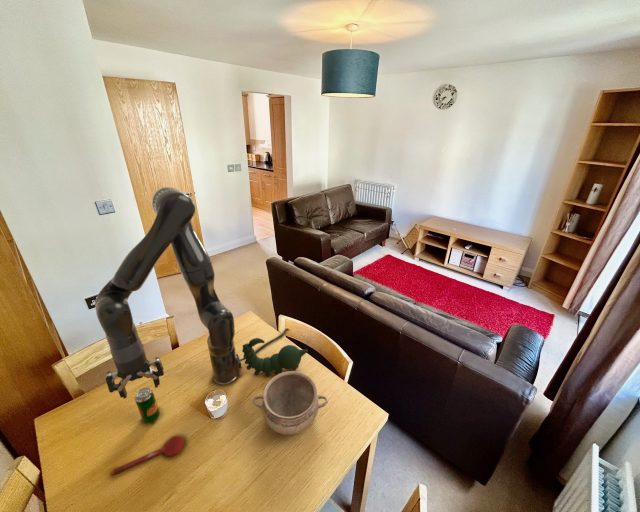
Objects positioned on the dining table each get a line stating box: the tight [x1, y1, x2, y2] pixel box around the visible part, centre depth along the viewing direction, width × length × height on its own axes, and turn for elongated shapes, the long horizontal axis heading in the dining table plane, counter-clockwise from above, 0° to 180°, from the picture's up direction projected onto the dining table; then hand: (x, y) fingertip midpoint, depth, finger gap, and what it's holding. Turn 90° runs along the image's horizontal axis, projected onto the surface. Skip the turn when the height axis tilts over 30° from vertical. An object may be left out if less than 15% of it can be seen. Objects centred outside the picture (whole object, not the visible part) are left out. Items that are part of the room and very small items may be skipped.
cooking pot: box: [252, 370, 329, 436], centre depth 92 cm, size 25×19×12 cm
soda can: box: [134, 387, 161, 424], centre depth 90 cm, size 5×5×12 cm
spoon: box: [111, 435, 185, 476], centre depth 81 cm, size 18×6×1 cm, turn 119°
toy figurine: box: [241, 337, 309, 378], centre depth 108 cm, size 9×19×25 cm
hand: (141, 390), depth 87 cm, fingers open, 8 cm apart
